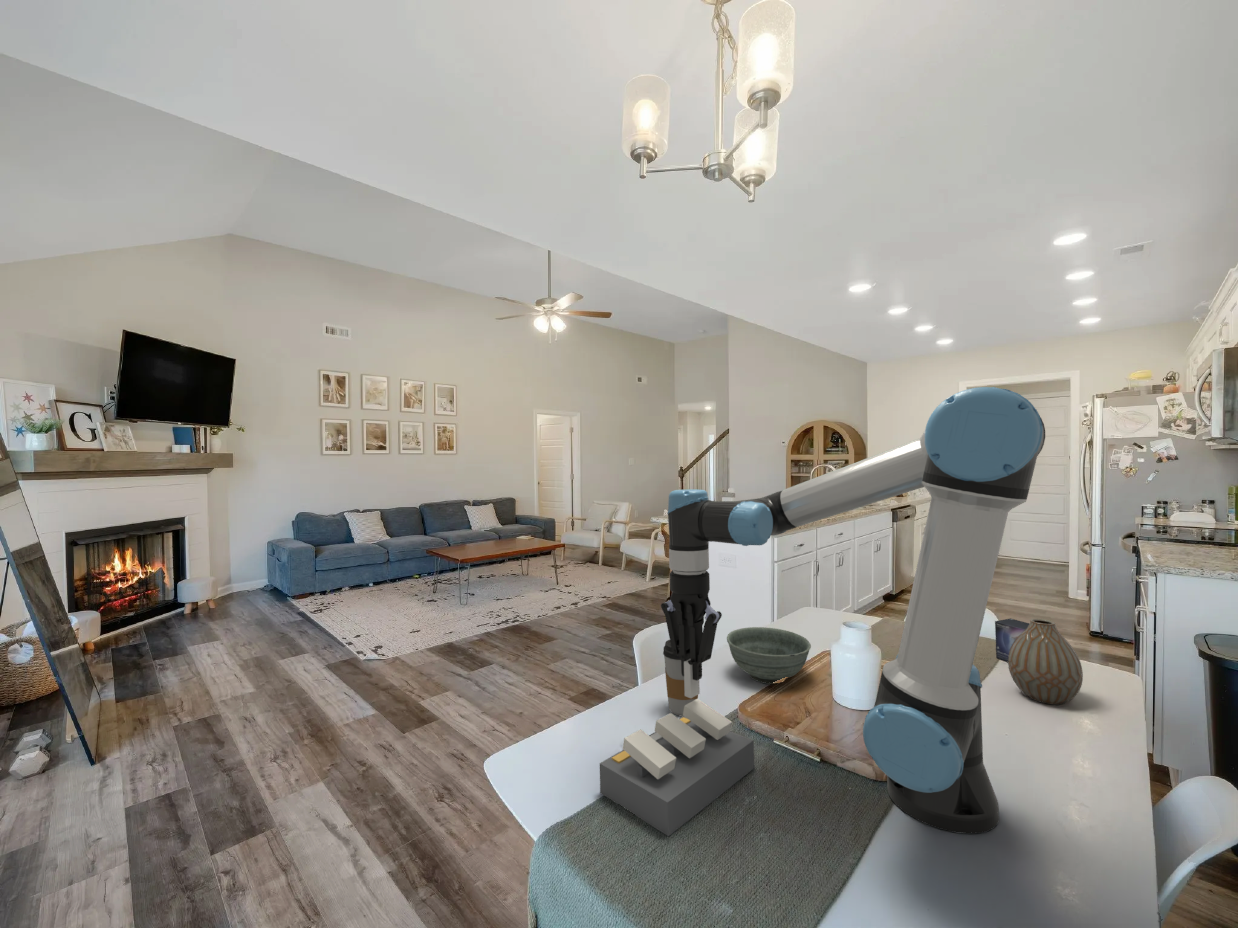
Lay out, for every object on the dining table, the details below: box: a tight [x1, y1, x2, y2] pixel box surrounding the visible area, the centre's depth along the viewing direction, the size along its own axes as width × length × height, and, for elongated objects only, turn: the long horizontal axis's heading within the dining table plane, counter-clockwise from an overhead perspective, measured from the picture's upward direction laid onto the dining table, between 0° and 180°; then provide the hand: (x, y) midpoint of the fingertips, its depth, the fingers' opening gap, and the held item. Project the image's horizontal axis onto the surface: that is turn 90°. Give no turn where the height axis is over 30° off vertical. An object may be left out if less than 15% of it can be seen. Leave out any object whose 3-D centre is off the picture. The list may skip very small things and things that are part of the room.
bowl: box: [726, 626, 812, 685], centre depth 133 cm, size 21×21×10 cm
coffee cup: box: [662, 639, 699, 717], centre depth 117 cm, size 8×8×15 cm
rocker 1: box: [622, 729, 676, 779], centre depth 85 cm, size 8×4×2 cm, turn 44°
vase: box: [1007, 618, 1084, 706], centre depth 118 cm, size 13×13×18 cm
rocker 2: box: [654, 712, 706, 758], centre depth 90 cm, size 8×4×2 cm, turn 44°
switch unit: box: [599, 716, 755, 837], centre depth 90 cm, size 15×24×6 cm, turn 134°
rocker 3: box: [682, 698, 733, 740], centre depth 96 cm, size 8×4×2 cm, turn 44°
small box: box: [994, 618, 1030, 663], centre depth 138 cm, size 11×6×10 cm, turn 17°
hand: (692, 694), depth 98 cm, fingers closed
